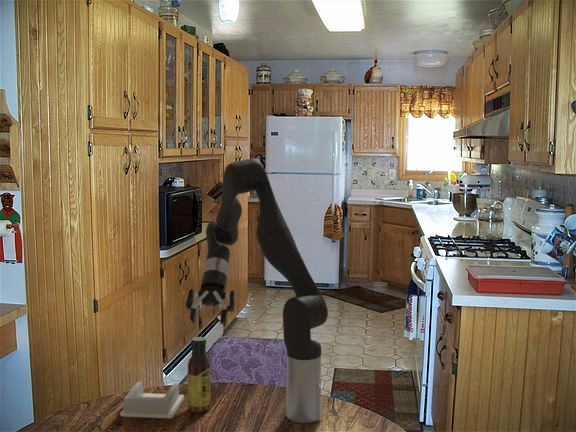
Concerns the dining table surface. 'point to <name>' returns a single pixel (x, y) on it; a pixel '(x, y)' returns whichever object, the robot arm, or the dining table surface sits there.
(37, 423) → the dining table surface
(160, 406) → the white open tray
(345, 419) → the dining table surface
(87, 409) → the dining table surface
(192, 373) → the sauce bottle
